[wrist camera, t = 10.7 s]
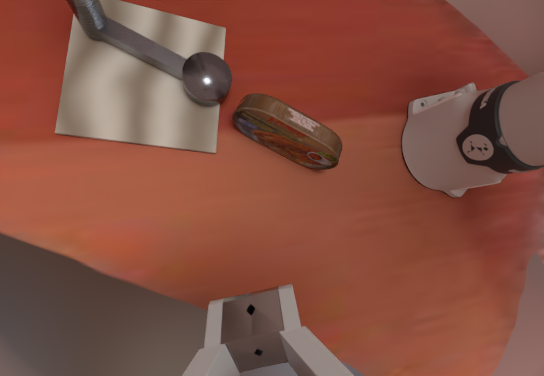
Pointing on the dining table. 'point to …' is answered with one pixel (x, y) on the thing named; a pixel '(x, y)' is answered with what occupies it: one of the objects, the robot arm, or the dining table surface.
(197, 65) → the lever
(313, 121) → the tin
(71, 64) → the beige square panel
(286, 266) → the dining table surface
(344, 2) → the dining table surface
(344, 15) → the dining table surface
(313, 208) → the dining table surface
